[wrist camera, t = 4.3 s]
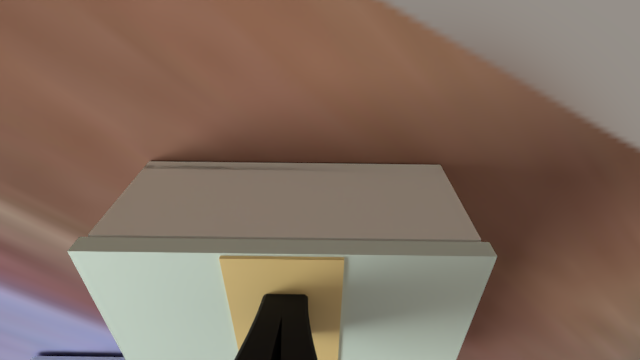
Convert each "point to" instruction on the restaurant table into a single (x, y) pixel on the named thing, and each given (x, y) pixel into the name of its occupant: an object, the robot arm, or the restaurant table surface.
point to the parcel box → (289, 203)
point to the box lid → (285, 278)
